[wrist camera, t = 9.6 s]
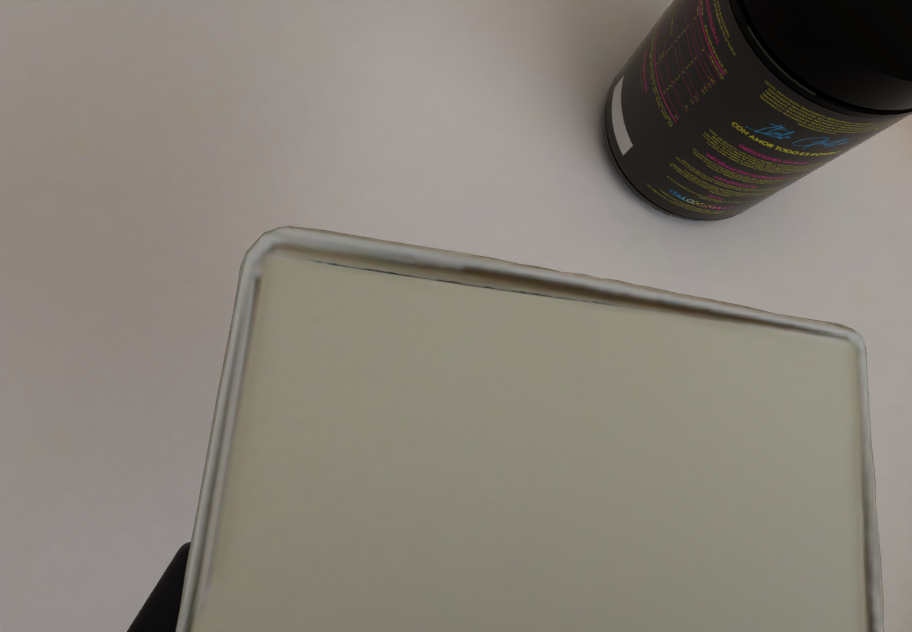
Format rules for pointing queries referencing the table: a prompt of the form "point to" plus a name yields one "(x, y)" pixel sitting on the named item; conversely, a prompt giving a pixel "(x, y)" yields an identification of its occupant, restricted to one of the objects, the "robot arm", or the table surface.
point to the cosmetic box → (525, 454)
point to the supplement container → (754, 97)
